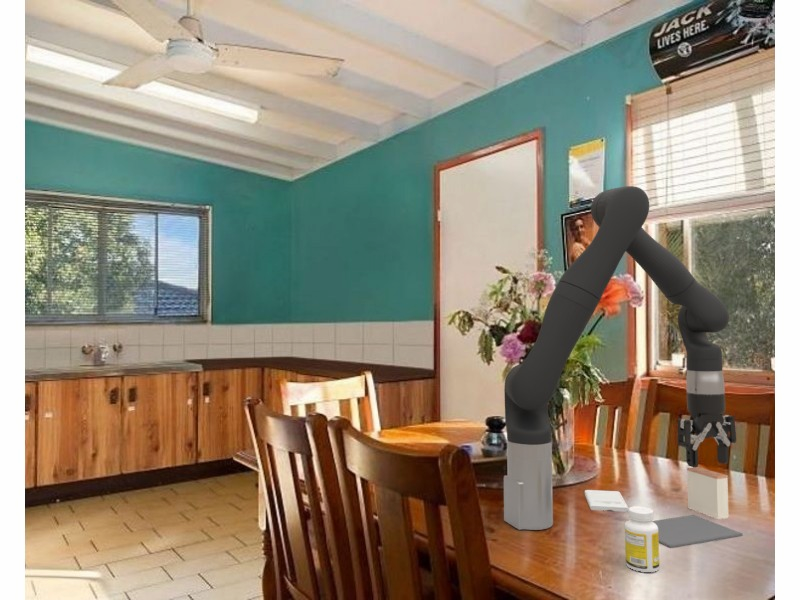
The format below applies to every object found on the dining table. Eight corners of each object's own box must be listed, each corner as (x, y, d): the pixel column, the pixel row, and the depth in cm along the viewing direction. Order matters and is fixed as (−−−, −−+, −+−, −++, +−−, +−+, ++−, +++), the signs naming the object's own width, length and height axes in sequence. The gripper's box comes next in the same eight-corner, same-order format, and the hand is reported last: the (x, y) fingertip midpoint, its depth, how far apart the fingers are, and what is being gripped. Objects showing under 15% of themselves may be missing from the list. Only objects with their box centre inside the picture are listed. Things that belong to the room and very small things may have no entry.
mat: (670, 547, 111) (670, 545, 111) (625, 527, 123) (625, 525, 123) (742, 535, 118) (742, 533, 118) (693, 516, 129) (693, 514, 129)
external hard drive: (619, 498, 144) (629, 514, 132) (584, 496, 146) (590, 512, 134) (619, 491, 145) (629, 507, 132) (584, 489, 146) (590, 505, 134)
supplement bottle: (650, 560, 106) (649, 504, 106) (665, 573, 100) (664, 514, 101) (620, 561, 106) (619, 505, 106) (633, 574, 100) (632, 515, 101)
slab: (717, 519, 127) (716, 476, 127) (688, 508, 135) (687, 468, 135) (728, 517, 128) (727, 475, 128) (698, 506, 136) (697, 466, 136)
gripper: (693, 394, 126) (696, 472, 126) (744, 390, 131) (747, 465, 130) (667, 390, 133) (669, 464, 133) (715, 387, 138) (718, 458, 137)
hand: (708, 464), depth 132 cm, fingers open, 8 cm apart
